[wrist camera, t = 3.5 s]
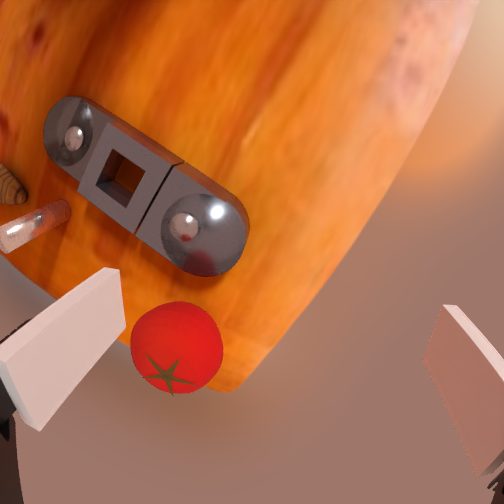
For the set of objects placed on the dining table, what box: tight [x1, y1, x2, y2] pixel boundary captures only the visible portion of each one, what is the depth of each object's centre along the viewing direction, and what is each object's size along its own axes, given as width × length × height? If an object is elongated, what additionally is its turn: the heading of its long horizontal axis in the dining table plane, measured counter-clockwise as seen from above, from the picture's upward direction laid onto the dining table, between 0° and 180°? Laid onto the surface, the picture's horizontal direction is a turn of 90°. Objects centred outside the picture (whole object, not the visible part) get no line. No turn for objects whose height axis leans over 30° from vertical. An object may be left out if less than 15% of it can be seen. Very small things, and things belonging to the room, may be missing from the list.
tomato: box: [131, 302, 223, 395], centre depth 35 cm, size 12×12×10 cm
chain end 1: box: [43, 96, 184, 201], centre depth 31 cm, size 20×9×3 cm, turn 55°
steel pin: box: [0, 199, 71, 254], centre depth 30 cm, size 3×3×12 cm
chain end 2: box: [77, 122, 250, 277], centre depth 31 cm, size 20×9×5 cm, turn 55°
